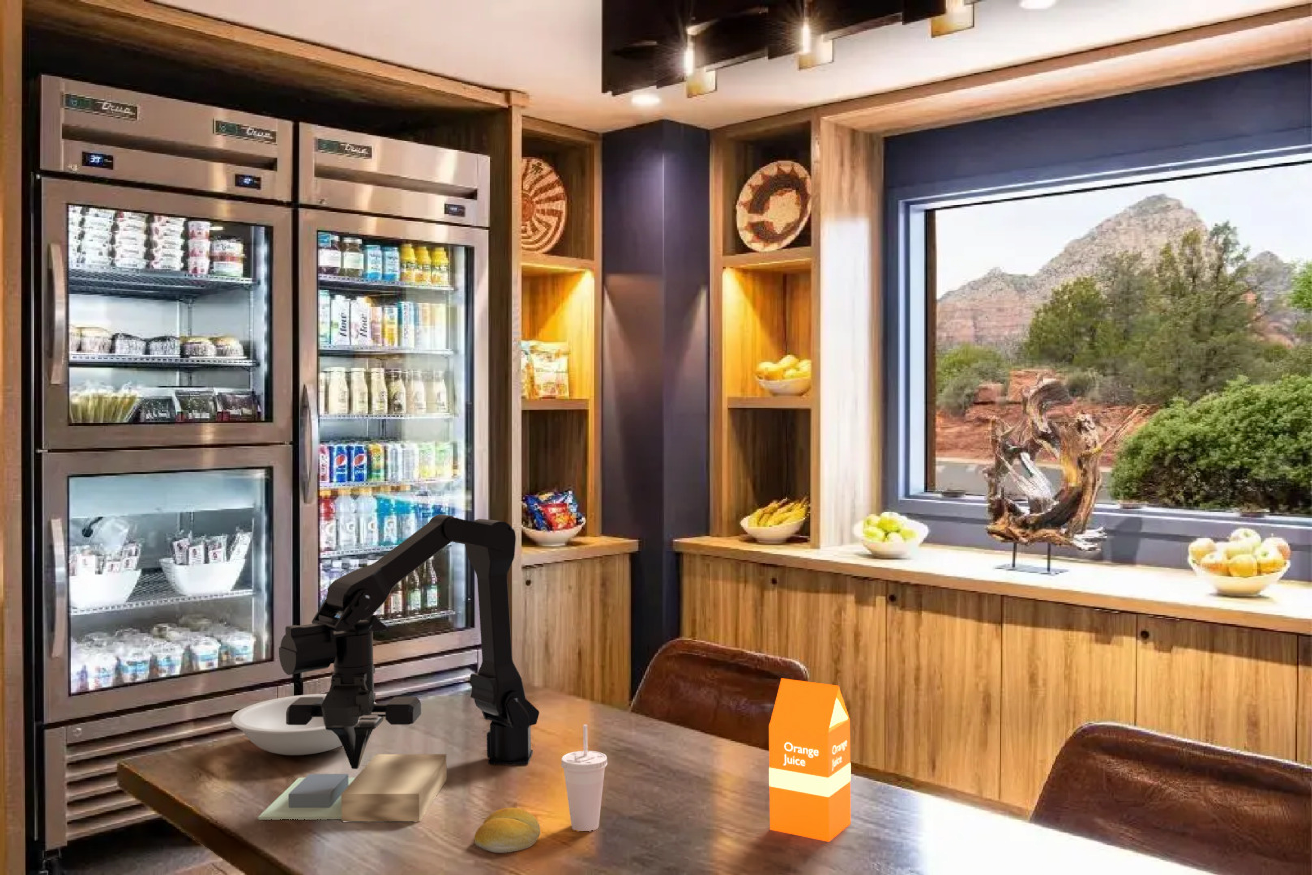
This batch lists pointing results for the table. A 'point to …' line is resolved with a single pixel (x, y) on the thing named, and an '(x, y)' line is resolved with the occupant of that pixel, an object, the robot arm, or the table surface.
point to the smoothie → (584, 785)
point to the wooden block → (394, 788)
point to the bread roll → (508, 831)
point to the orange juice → (809, 761)
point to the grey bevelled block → (318, 791)
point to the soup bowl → (284, 728)
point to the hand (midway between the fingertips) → (355, 768)
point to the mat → (282, 810)
